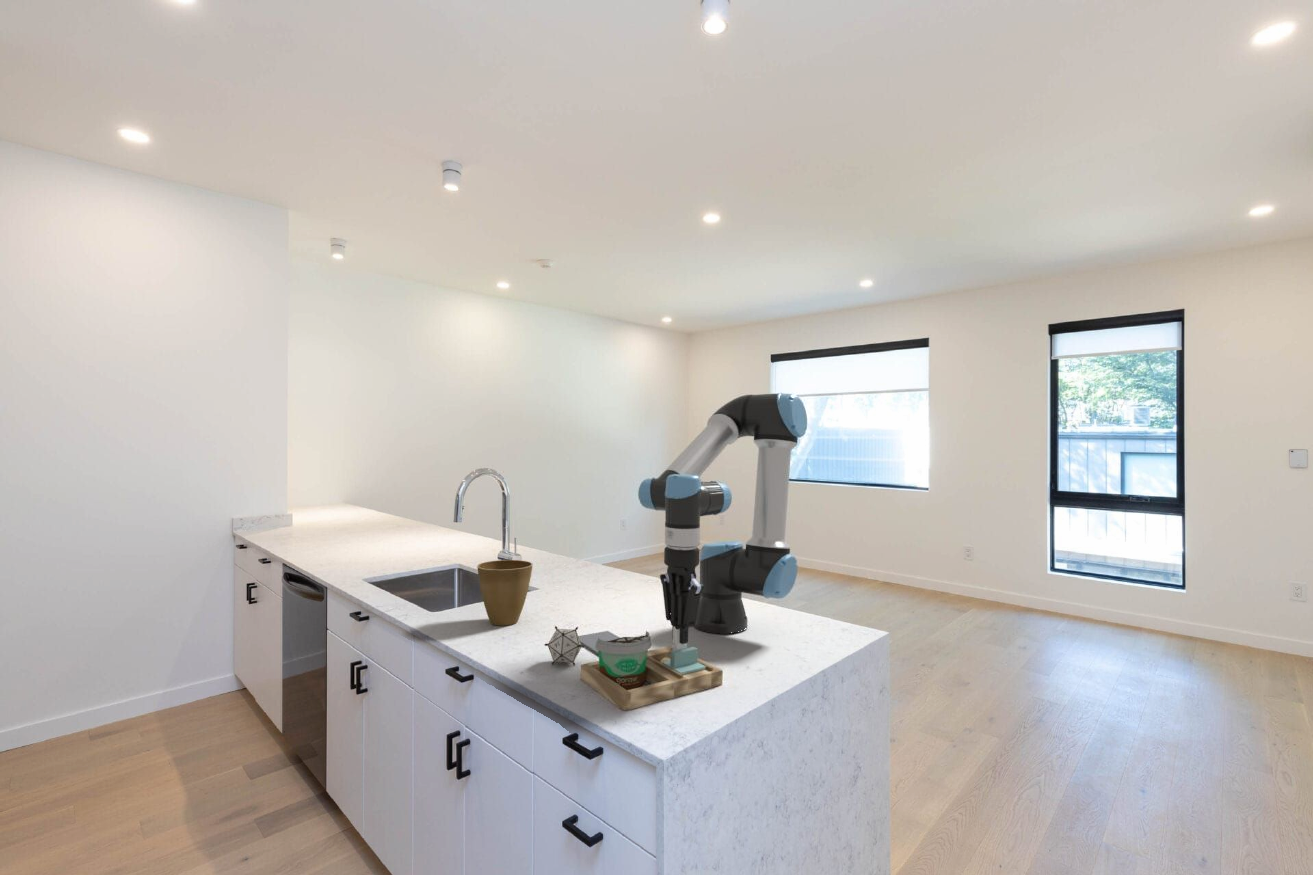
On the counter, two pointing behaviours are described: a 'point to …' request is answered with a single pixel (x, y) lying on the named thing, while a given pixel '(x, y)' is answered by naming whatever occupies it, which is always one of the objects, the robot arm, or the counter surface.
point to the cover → (684, 661)
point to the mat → (596, 639)
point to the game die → (564, 645)
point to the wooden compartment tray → (652, 681)
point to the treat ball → (665, 660)
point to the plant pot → (504, 589)
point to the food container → (624, 660)
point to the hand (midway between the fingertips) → (679, 656)
